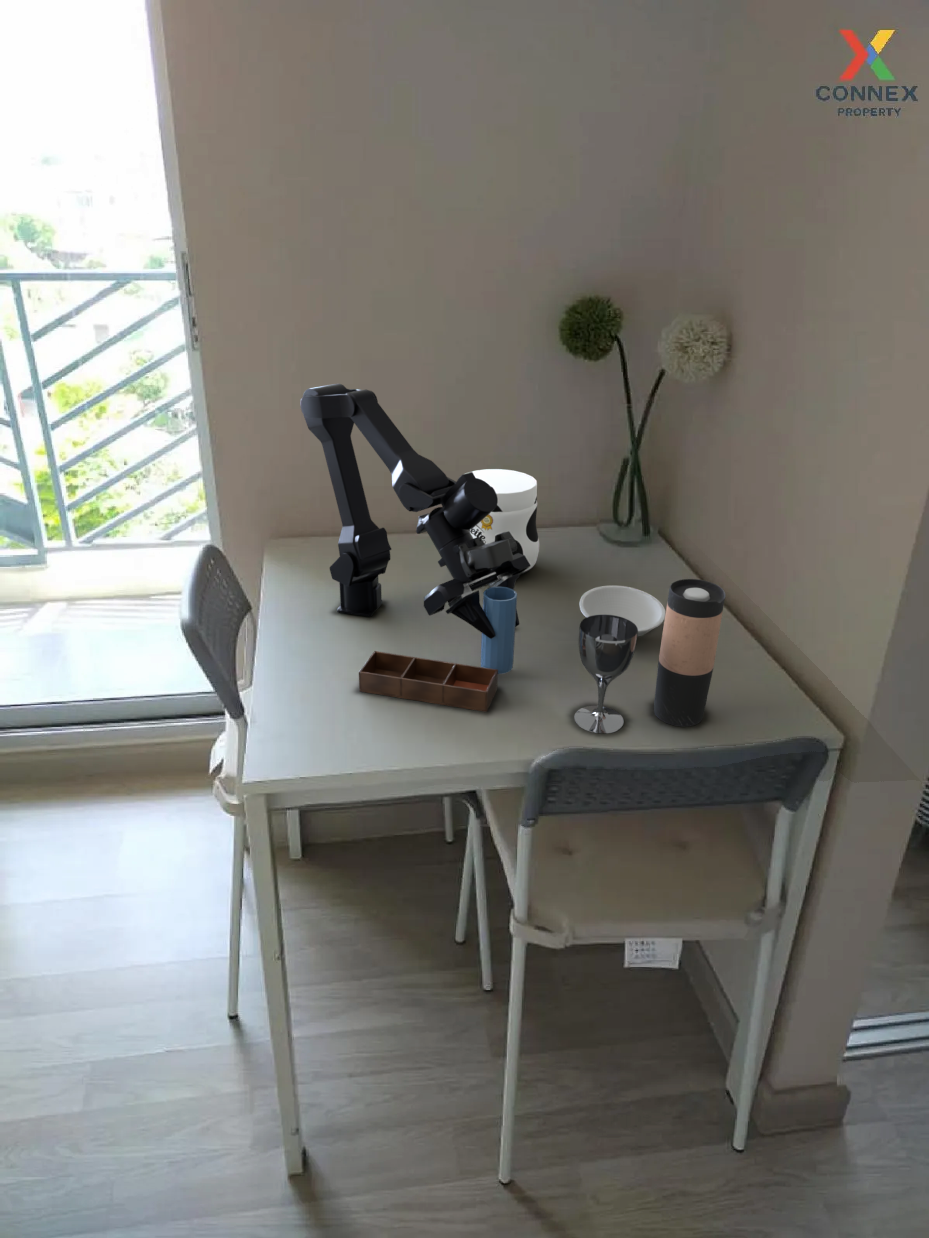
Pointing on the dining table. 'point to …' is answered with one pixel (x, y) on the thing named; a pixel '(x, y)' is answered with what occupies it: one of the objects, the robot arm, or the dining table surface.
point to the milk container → (511, 511)
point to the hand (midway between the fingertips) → (505, 631)
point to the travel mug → (688, 651)
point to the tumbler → (499, 629)
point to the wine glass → (604, 665)
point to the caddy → (429, 681)
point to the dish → (624, 606)
